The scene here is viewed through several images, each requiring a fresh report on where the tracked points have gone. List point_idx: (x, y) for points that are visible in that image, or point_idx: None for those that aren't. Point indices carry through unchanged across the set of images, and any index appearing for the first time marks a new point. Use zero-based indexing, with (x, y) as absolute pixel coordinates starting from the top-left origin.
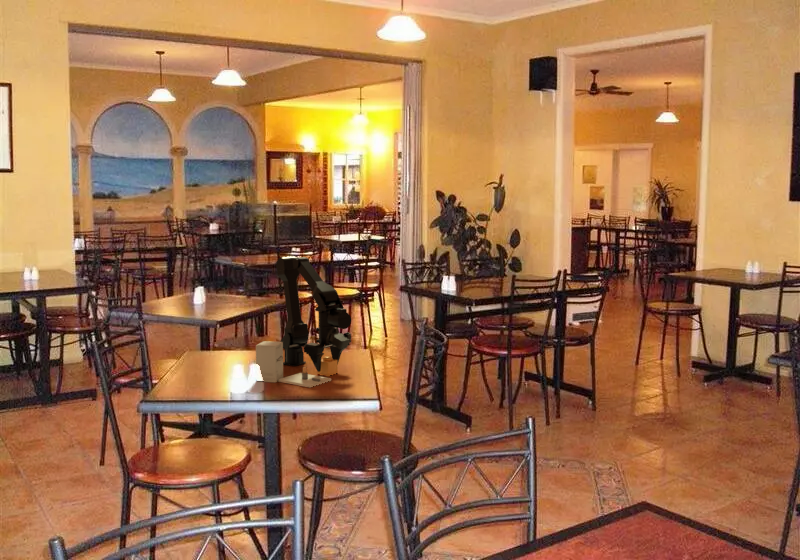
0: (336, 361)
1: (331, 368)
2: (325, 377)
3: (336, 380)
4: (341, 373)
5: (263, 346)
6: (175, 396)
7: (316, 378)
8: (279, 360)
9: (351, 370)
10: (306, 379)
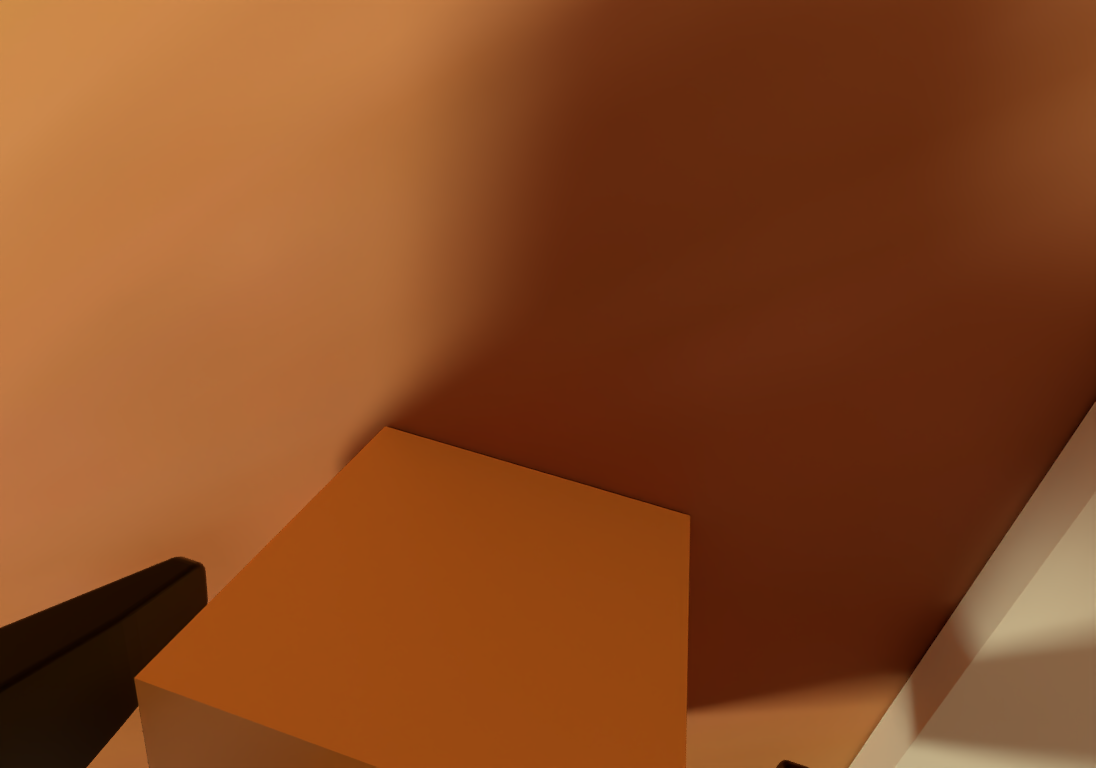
0: (224, 655)
1: (548, 599)
2: (1088, 520)
3: (1088, 170)
4: (329, 356)
5: None
6: None
7: None
8: None
9: (27, 260)
10: None
